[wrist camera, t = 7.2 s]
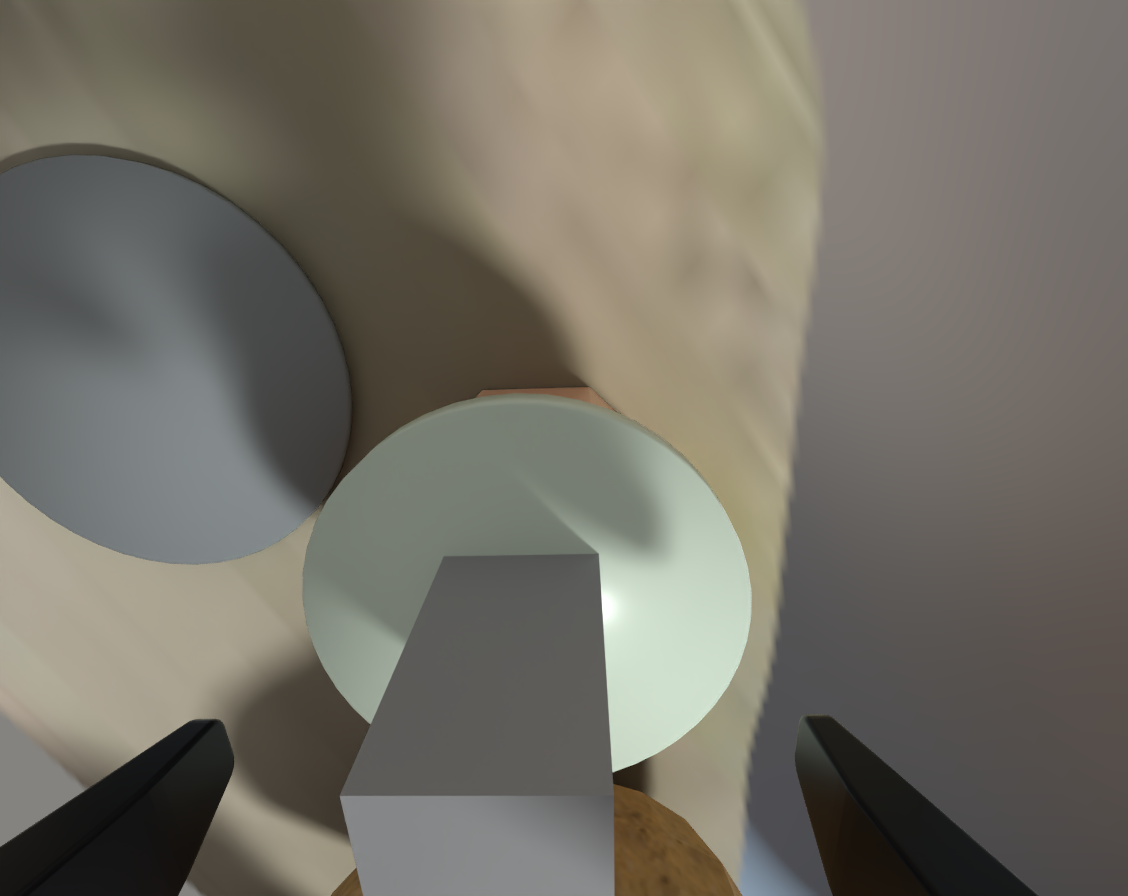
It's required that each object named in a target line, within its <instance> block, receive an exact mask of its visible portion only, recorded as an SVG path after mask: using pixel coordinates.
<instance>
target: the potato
mask: <svg viewBox="0 0 1128 896" xmlns="http://www.w3.org/2000/svg"><path fill="white" fill-rule="evenodd" d="M613 790H614V896H742V894H741V893H740V891H739V890H738V888H737V886H736V885H735V883H734V882H733V880H732V879H731V877H730V875H729V874H728V872H727V871H726V869H725V867H724V866H723V864H722V863H721V862H720V860H719V859H718V858H717V857H716V856H715V854H714V853H713V852H712V851H711V850H710V848H709V847H708V846H707V845H706V844H705V843H704V841H703V840H702V839H701V838H700V837H699V835H698V834H697V833H696V832H695V831H694V829H693V828H692V827H691V826H690V825H689V823H688V822H687V821H686V820H685V819H684V818H682V817H681V816H679V815H677V814H676V813H674V812H673V811H671V810H670V809H668V808H666V807H665V806H663V805H662V804H660V803H659V802H657V801H655V800H654V799H652V798H651V797H649V796H647V795H646V794H644V793H643V792H640V791H636V790H633V789H629V788H626V787H622V786H619V785H615V784H613ZM331 896H363V893H362V889H361V884H360V880H359V876H358V872H357V868H356V869H355V870H354V871H353V872H352V873H351V874H350V875H349V876H348V877H347V878H346V879H345V880H344V881H343V882H342V883H341V885H340V886H339V887H338V888H337V889H336V890H335V891H334V892H333V893H332V895H331Z"/></svg>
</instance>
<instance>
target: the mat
mask: <svg viewBox="0 0 1128 896" xmlns="http://www.w3.org/2000/svg"><path fill="white" fill-rule="evenodd" d="M351 426H352V394H351V385H350V376H349V371H348V367H347V363H346V359H345V354H344V350H343V347H342V345H341V342H340V339H339V336H338V334H337V331H336V328H335V326H334V323H333V321H332V319H331V317H330V315H329V313H328V311H327V309H326V307H325V305H324V303H323V301H322V299H321V297H320V295H319V294H318V292H317V291H316V289H315V288H314V286H313V285H312V283H311V282H310V280H309V279H308V277H307V276H306V274H305V273H304V271H303V270H302V269H301V267H300V266H299V265H298V264H297V263H296V261H295V260H294V259H293V258H292V257H291V255H290V254H289V253H288V252H287V251H286V249H285V248H284V247H283V246H282V245H281V244H280V243H279V242H278V241H277V240H276V239H275V238H274V237H273V236H272V235H271V234H270V233H269V232H268V231H267V230H266V229H265V228H263V227H262V226H261V225H260V224H259V223H258V222H257V221H256V220H254V219H253V218H252V217H250V216H249V215H248V214H246V213H245V212H244V211H243V210H241V209H240V208H239V207H237V206H236V205H235V204H233V203H232V202H230V201H229V200H227V199H225V198H224V197H222V196H220V195H219V194H217V193H215V192H214V191H212V190H210V189H209V188H207V187H205V186H203V185H201V184H199V183H197V182H194V181H192V180H190V179H188V178H186V177H183V176H181V175H179V174H177V173H174V172H171V171H168V170H165V169H161V168H158V167H155V166H152V165H148V164H145V163H140V162H134V161H129V160H123V159H117V158H111V157H106V156H91V155H67V156H59V157H51V158H43V159H39V160H36V161H32V162H29V163H26V164H22V165H19V166H16V167H13V168H12V169H10V170H8V171H6V172H4V173H2V174H0V476H1V477H2V478H3V480H4V481H5V482H6V483H7V484H8V485H9V486H11V487H12V488H13V489H14V490H15V491H16V492H17V493H18V494H20V495H21V496H22V497H23V498H24V499H25V500H26V501H27V502H29V503H30V504H31V505H33V506H34V507H35V508H37V509H38V510H39V511H41V512H42V513H44V514H45V515H46V516H48V517H49V518H50V519H52V520H54V521H55V522H57V523H58V524H60V525H62V526H63V527H65V528H67V529H68V530H70V531H72V532H73V533H75V534H77V535H79V536H82V537H84V538H86V539H88V540H90V541H92V542H94V543H96V544H98V545H101V546H104V547H106V548H109V549H112V550H114V551H117V552H120V553H123V554H126V555H130V556H134V557H138V558H142V559H146V560H151V561H158V562H165V563H171V564H207V563H219V562H223V561H228V560H233V559H238V558H242V557H244V556H247V555H250V554H253V553H256V552H259V551H261V550H263V549H265V548H267V547H269V546H271V545H273V544H275V543H277V542H278V541H280V540H282V539H283V538H284V537H286V536H287V535H288V534H290V533H291V532H293V531H294V530H295V529H297V528H298V527H299V526H300V525H301V524H302V523H303V522H304V521H305V520H306V519H307V518H308V517H309V516H310V515H311V514H312V513H313V512H314V511H315V510H316V509H317V508H318V506H319V505H320V504H321V502H322V501H323V500H324V498H325V497H326V496H327V494H328V493H329V491H330V490H331V488H332V486H333V484H334V482H335V480H336V478H337V476H338V474H339V473H340V470H341V467H342V464H343V461H344V458H345V455H346V452H347V449H348V444H349V438H350V432H351Z"/></svg>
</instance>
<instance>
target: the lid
mask: <svg viewBox="0 0 1128 896" xmlns="http://www.w3.org/2000/svg"><path fill="white" fill-rule="evenodd" d="M303 604H304V611H305V617H306V623H307V626H308V630H309V633H310V636H311V639H312V643H313V646H314V648H315V650H316V652H317V655H318V657H319V659H320V661H321V663H322V665H323V667H324V669H325V671H326V672H327V674H328V675H329V677H330V679H331V680H332V682H333V683H334V685H335V686H336V688H337V689H338V691H339V692H340V693H341V694H342V695H343V697H344V698H345V699H346V700H347V701H348V703H349V704H350V705H351V706H352V707H353V708H354V709H355V710H356V711H357V712H358V713H359V714H360V715H361V716H362V717H363V718H364V719H365V720H366V721H367V722H368V723H369V724H370V727H369V729H368V732H367V734H366V736H365V739H364V741H363V743H362V745H361V748H360V750H359V752H358V755H357V757H356V759H355V762H354V764H353V766H352V768H351V771H350V773H349V775H348V778H347V780H346V782H345V784H344V787H343V789H342V791H341V794H340V800H341V804H342V808H343V813H344V817H345V821H346V825H347V829H348V834H349V838H350V842H351V846H352V851H353V855H354V859H355V863H356V867H357V872H358V876H359V880H360V884H361V889H362V893H363V896H614V790H613V774H612V772H615V771H618V770H620V769H623V768H626V767H629V766H631V765H634V764H637V763H639V762H641V761H643V760H645V759H647V758H649V757H651V756H653V755H655V754H657V753H658V752H660V751H662V750H663V749H665V748H666V747H668V746H669V745H671V744H672V743H674V742H675V741H677V740H679V739H680V738H681V737H682V736H683V735H685V734H686V733H687V732H688V731H689V730H691V729H692V728H693V727H694V726H695V725H697V724H698V723H699V722H700V721H701V719H702V718H703V717H704V716H705V715H706V714H707V713H708V712H709V711H710V710H711V709H712V708H713V707H714V705H715V704H716V702H717V701H718V700H719V698H720V697H721V695H722V694H723V693H724V691H725V690H726V688H727V687H728V685H729V683H730V681H731V679H732V677H733V675H734V674H735V672H736V670H737V668H738V666H739V663H740V660H741V657H742V654H743V651H744V648H745V646H746V643H747V638H748V632H749V626H750V621H751V585H750V578H749V571H748V566H747V562H746V559H745V556H744V553H743V549H742V546H741V543H740V540H739V538H738V536H737V534H736V532H735V530H734V528H733V526H732V524H731V522H730V520H729V518H728V516H727V514H726V512H725V510H724V508H723V507H722V505H721V503H720V501H719V499H718V497H717V496H716V495H715V493H714V492H713V490H712V489H711V487H710V486H709V484H708V483H707V481H706V480H705V479H704V477H703V476H702V475H701V473H700V472H699V471H698V470H697V469H696V468H695V467H694V466H693V465H692V464H691V463H690V462H689V460H688V459H687V458H686V457H685V456H684V455H683V454H682V453H680V452H679V451H678V450H677V449H676V448H674V447H673V446H672V445H671V444H669V443H668V442H667V441H666V440H665V439H663V438H662V437H661V436H659V435H658V434H656V433H654V432H653V431H651V430H649V429H648V428H646V427H645V426H643V425H641V424H640V423H638V422H636V421H635V420H632V419H630V418H628V417H626V416H623V415H621V414H619V413H617V412H614V411H612V410H610V409H608V408H605V407H601V406H598V405H594V404H591V403H588V402H584V401H581V400H578V399H572V398H566V397H560V396H554V395H548V394H523V393H512V394H501V395H490V396H482V397H478V398H474V399H469V400H465V401H460V402H456V403H453V404H450V405H447V406H445V407H442V408H439V409H436V410H434V411H431V412H428V413H426V414H424V415H422V416H420V417H418V418H417V419H415V420H413V421H411V422H409V423H407V424H405V425H404V426H402V427H400V428H399V429H397V430H396V431H395V432H393V433H392V434H391V435H389V436H388V437H387V438H385V439H384V440H383V441H381V442H380V443H379V444H377V445H376V446H375V447H374V448H373V449H372V450H371V451H370V452H369V453H368V454H367V455H366V456H365V457H364V458H363V459H362V460H361V461H360V462H359V463H358V464H357V465H356V466H355V467H354V468H353V469H352V470H351V471H350V472H349V473H348V474H347V475H346V476H345V477H344V478H343V480H342V481H341V482H340V484H339V485H338V486H337V488H336V489H335V490H334V492H333V493H332V494H331V496H330V497H329V499H328V500H327V502H326V503H325V505H324V507H323V509H322V511H321V513H320V515H319V517H318V519H317V521H316V523H315V525H314V528H313V531H312V534H311V537H310V540H309V543H308V546H307V550H306V556H305V562H304V568H303Z"/></svg>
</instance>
